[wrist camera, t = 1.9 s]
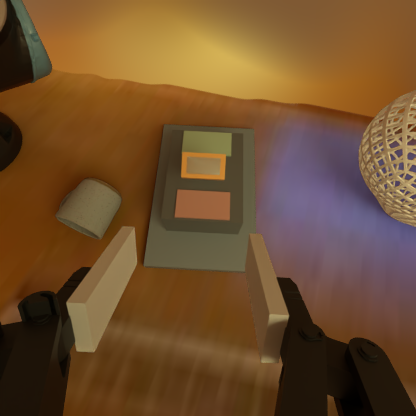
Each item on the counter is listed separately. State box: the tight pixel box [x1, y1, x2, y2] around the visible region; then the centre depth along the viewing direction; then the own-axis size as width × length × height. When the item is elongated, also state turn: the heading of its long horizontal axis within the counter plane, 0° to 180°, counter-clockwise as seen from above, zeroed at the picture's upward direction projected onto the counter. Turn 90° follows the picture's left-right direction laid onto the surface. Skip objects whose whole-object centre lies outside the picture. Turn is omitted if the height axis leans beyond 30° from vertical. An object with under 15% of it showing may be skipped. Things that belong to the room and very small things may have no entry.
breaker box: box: [143, 124, 256, 273], centre depth 44 cm, size 28×18×8 cm, turn 177°
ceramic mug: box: [55, 178, 122, 239], centre depth 42 cm, size 11×8×8 cm
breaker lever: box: [181, 152, 226, 181], centre depth 35 cm, size 3×5×9 cm, turn 87°
